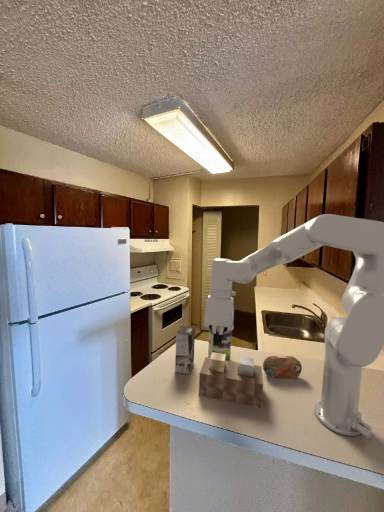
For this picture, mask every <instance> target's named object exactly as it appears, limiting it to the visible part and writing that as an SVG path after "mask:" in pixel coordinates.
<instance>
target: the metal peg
mask: <svg viewBox="0 0 384 512" xmlns="http://www.w3.org/2000/svg"><path fill="white" fill-rule="evenodd" d="M238 363H239V370H238V375H239V376H245V377H251V378H253V374H254V365H255V359H254V357H253V358H251V357H246V356H239V358H238Z"/></svg>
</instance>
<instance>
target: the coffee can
mask: <svg viewBox="0 0 384 512" xmlns="http://www.w3.org/2000/svg"><path fill="white" fill-rule="evenodd" d="M220 327H221V326H217V330H218V332H219V330H220ZM232 332H233V330H227V331H226V332H224V333H223V334H222V342H220V344H219V346H218V345H214V344H215V341H213V332H212V331H211V329H210V328H209V327H208V348H207V349H208V350H207V352H208V353H207V357H208V358H211V355H212V352H215V353H221V354H226V361H231V353H232V352H231V350H232V349H231V348H232V336H233V335H232Z"/></svg>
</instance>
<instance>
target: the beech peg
mask: <svg viewBox="0 0 384 512" xmlns="http://www.w3.org/2000/svg"><path fill="white" fill-rule="evenodd" d="M225 360H226V354H221V353H215V352H212V355H211V358H210V370H211V371H217V372H222V373H225Z"/></svg>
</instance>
